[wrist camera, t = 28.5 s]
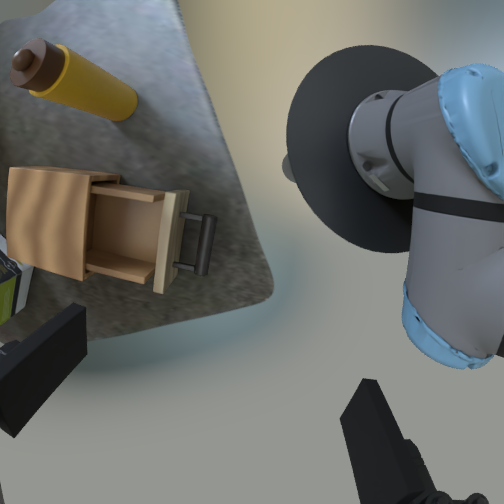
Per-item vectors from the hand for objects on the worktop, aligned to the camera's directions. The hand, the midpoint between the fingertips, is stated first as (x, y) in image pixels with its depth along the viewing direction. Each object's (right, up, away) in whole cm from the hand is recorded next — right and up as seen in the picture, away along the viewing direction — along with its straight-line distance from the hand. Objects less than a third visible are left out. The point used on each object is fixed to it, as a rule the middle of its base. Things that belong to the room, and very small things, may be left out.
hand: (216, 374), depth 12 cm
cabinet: (-24, +11, +25) cm, 37 cm away
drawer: (-12, +8, +25) cm, 29 cm away
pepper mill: (-16, +26, +21) cm, 37 cm away
